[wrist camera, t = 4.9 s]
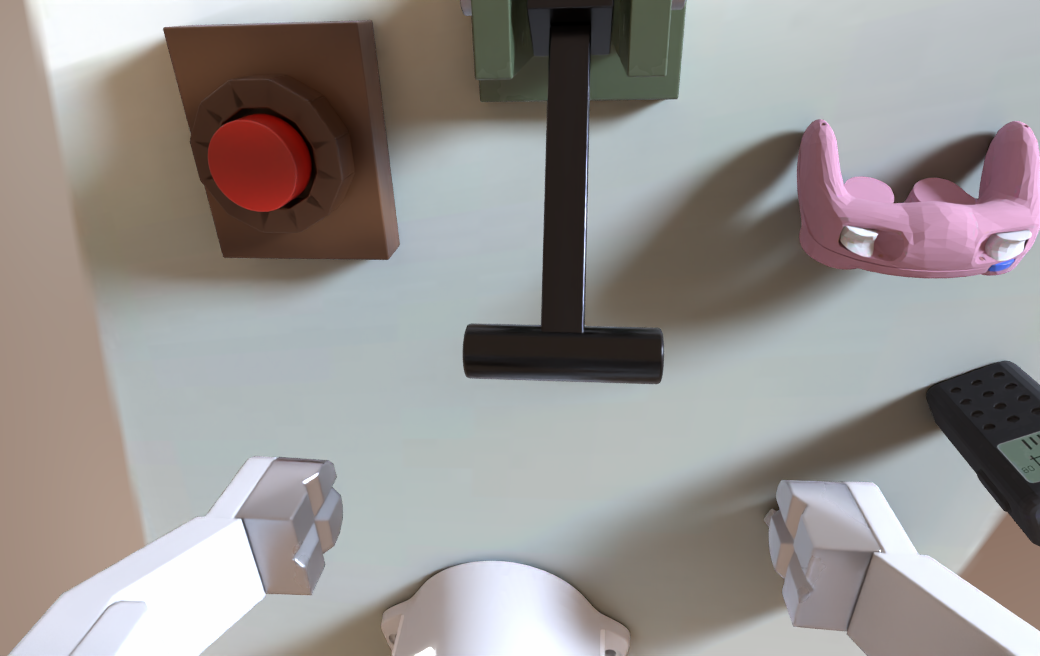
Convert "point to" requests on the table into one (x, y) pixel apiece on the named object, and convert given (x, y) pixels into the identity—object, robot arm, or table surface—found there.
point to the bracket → (617, 76)
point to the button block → (312, 113)
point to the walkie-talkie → (997, 435)
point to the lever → (566, 229)
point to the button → (259, 162)
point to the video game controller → (921, 212)
